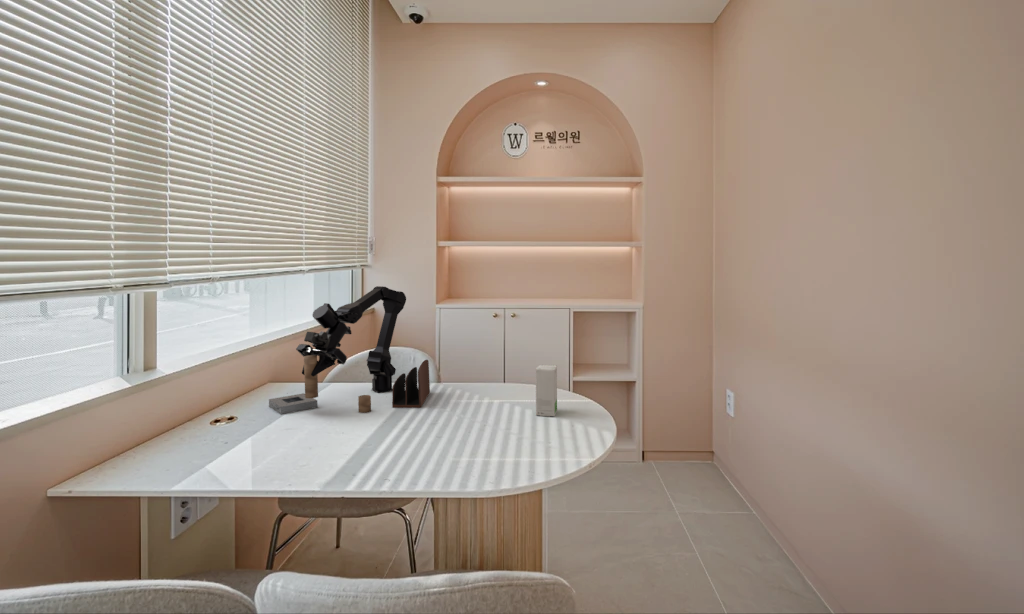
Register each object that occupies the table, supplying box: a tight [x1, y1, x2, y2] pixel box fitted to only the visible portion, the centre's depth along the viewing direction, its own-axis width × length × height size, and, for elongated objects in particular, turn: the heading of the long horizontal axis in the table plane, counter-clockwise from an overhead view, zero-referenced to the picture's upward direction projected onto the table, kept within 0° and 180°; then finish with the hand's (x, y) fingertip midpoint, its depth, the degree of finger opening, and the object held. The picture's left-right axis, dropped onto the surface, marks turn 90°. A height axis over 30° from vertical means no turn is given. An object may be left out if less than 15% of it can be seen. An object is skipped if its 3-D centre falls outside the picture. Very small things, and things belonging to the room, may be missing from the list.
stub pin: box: [357, 394, 372, 414], centre depth 175 cm, size 4×4×5 cm
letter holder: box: [391, 359, 431, 409], centre depth 188 cm, size 10×20×14 cm, turn 0°
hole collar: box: [268, 392, 318, 415], centre depth 179 cm, size 12×12×2 cm
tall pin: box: [303, 355, 319, 399], centre depth 172 cm, size 4×4×14 cm
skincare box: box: [535, 364, 558, 417], centre depth 173 cm, size 8×7×16 cm
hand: (307, 374), depth 170 cm, fingers closed on tall pin, 4 cm apart
